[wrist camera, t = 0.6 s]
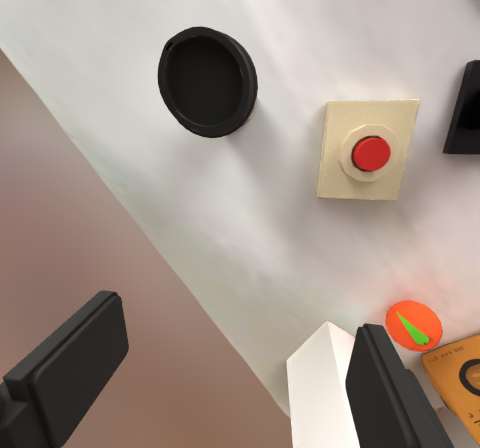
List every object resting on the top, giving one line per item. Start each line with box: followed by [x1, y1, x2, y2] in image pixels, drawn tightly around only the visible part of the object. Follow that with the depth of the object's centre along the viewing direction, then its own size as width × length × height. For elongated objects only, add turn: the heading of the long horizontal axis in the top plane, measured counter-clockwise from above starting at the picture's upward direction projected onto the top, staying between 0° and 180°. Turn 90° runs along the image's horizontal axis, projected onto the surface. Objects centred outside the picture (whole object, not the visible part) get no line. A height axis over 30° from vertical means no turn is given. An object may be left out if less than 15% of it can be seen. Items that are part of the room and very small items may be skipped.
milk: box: [286, 320, 360, 448], centre depth 34 cm, size 12×12×26 cm
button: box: [353, 138, 391, 171], centre depth 30 cm, size 4×4×2 cm
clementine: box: [386, 301, 443, 351], centre depth 37 cm, size 8×7×7 cm
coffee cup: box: [158, 27, 258, 138], centre depth 27 cm, size 8×8×15 cm
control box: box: [317, 100, 420, 201], centre depth 32 cm, size 12×10×4 cm
